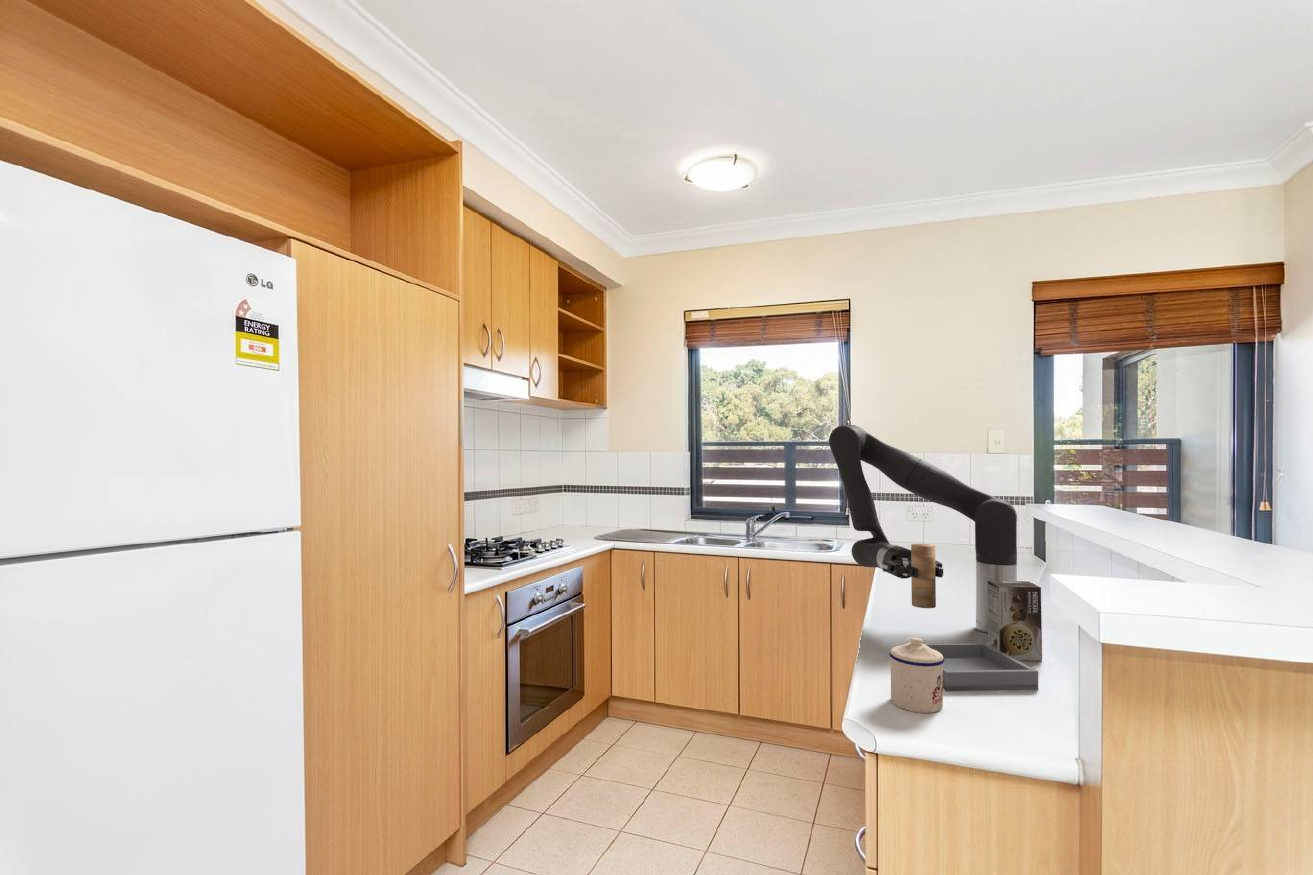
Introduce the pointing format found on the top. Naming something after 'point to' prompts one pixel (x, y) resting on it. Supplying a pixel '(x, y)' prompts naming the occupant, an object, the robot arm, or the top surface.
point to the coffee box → (1015, 619)
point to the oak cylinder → (923, 576)
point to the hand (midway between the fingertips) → (928, 573)
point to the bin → (983, 669)
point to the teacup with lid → (917, 677)
